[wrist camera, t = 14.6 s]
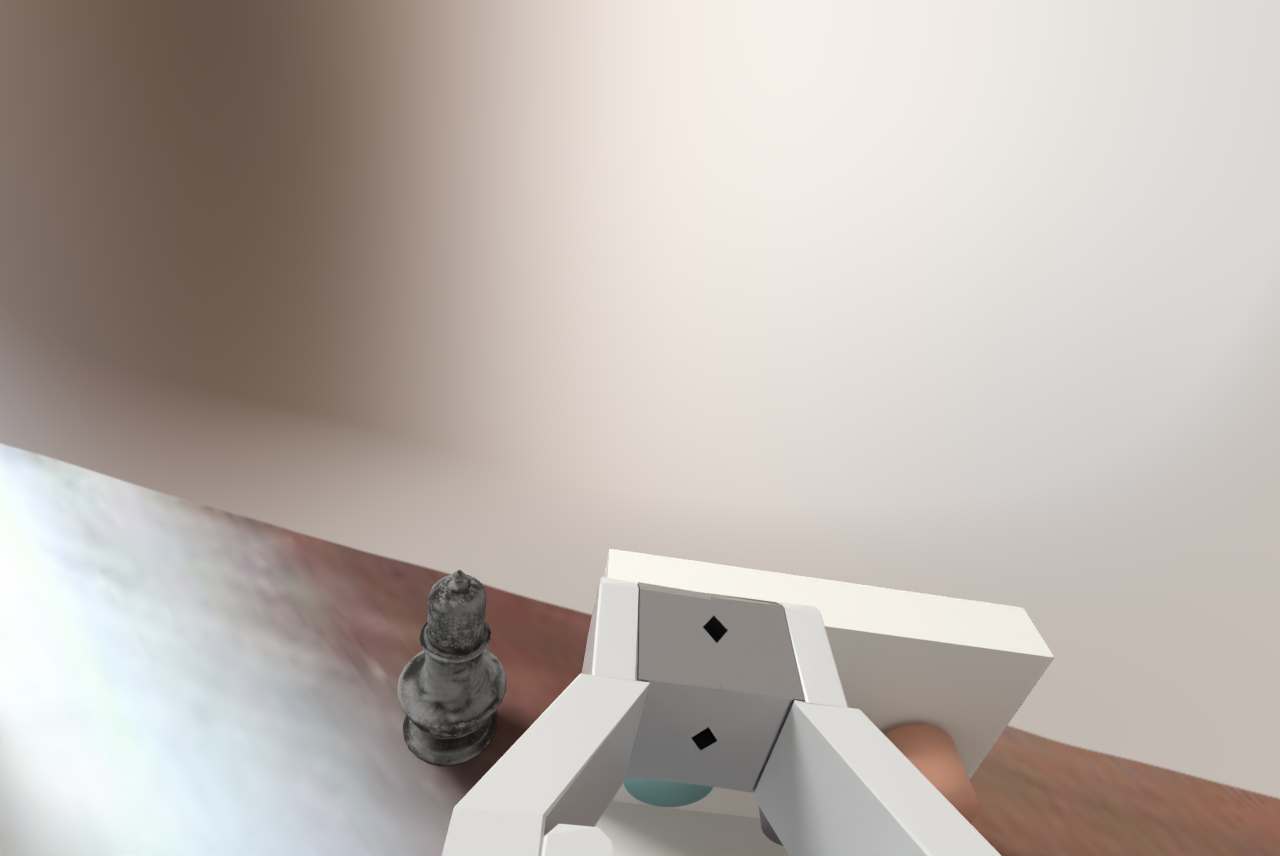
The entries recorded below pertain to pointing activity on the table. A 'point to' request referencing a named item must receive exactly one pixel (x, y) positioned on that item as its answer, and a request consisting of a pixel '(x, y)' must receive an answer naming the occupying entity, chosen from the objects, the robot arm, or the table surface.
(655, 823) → the console
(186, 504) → the table surface
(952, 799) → the terracotta button
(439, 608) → the grey stone chess piece
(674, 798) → the teal button
